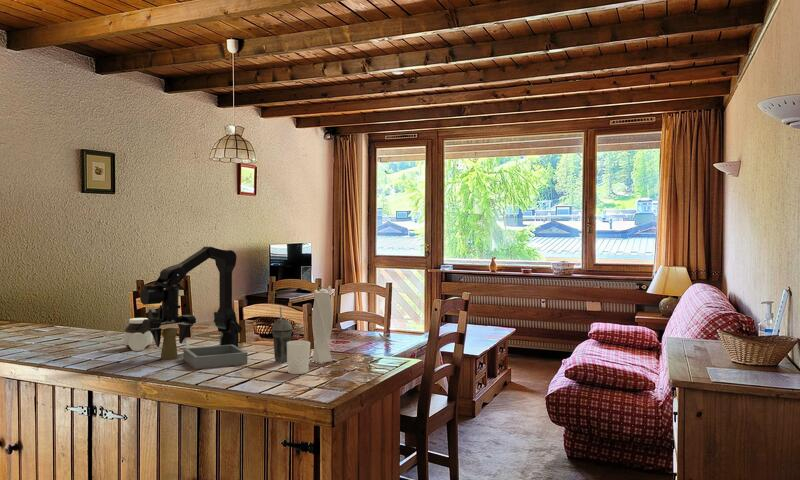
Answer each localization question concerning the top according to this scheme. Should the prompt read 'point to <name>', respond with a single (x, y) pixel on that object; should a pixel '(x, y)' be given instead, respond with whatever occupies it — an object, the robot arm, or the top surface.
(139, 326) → the spread jar
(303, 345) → the white cup
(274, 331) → the beverage cup
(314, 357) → the grey tall twisted column
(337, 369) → the top surface
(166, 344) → the olive gourd-shaped piece
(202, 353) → the tray
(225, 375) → the top surface
